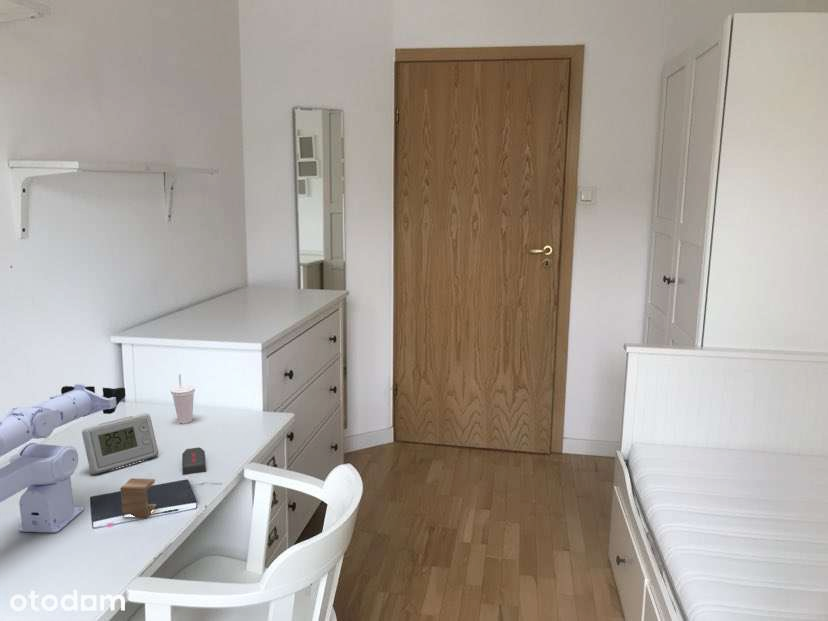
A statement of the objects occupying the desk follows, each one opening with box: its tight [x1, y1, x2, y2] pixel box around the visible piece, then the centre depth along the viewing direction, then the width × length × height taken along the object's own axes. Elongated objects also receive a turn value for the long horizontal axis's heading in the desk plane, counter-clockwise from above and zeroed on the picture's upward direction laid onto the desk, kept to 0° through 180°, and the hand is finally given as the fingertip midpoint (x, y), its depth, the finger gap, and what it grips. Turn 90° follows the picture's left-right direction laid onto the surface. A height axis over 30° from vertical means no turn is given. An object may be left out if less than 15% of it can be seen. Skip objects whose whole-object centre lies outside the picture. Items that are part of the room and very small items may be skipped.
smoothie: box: [170, 373, 196, 424], centre depth 185 cm, size 6×6×14 cm
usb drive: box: [181, 446, 207, 476], centre depth 158 cm, size 5×12×3 cm, turn 19°
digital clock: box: [81, 413, 159, 475], centre depth 158 cm, size 16×9×11 cm, turn 123°
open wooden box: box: [119, 477, 158, 519], centre depth 133 cm, size 4×5×6 cm
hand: (108, 391), depth 147 cm, fingers open, 7 cm apart
